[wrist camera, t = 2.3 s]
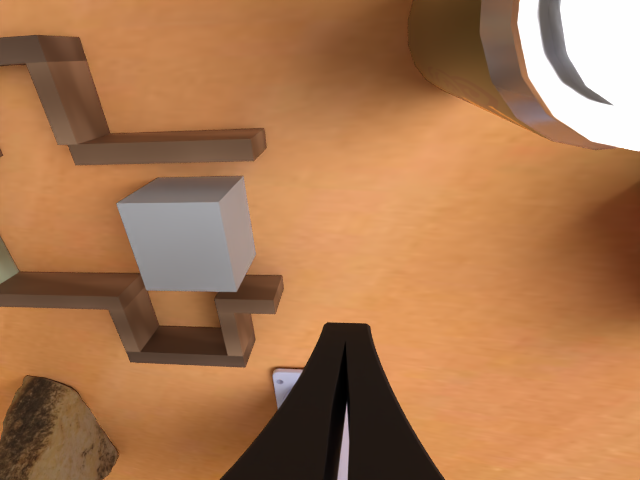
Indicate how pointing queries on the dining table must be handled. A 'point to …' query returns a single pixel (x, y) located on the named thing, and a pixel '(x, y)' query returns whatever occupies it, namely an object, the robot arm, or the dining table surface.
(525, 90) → the beer can
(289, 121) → the dining table surface
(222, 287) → the block
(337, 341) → the robot arm
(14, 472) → the rock
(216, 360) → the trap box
